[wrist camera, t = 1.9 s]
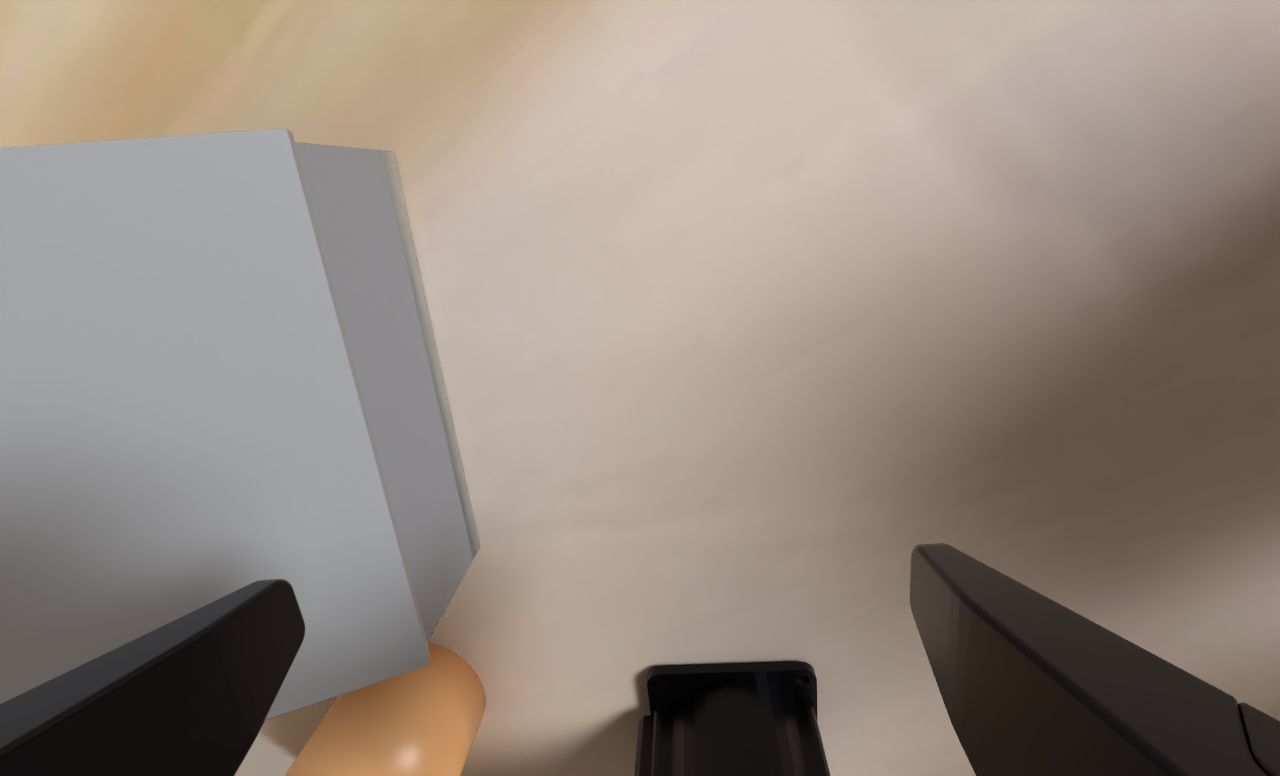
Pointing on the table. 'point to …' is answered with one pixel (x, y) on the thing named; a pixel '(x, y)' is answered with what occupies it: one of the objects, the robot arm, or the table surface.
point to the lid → (183, 413)
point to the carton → (395, 362)
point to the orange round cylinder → (400, 724)
